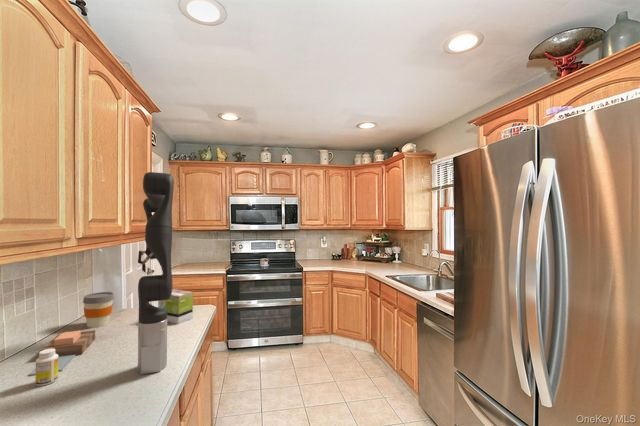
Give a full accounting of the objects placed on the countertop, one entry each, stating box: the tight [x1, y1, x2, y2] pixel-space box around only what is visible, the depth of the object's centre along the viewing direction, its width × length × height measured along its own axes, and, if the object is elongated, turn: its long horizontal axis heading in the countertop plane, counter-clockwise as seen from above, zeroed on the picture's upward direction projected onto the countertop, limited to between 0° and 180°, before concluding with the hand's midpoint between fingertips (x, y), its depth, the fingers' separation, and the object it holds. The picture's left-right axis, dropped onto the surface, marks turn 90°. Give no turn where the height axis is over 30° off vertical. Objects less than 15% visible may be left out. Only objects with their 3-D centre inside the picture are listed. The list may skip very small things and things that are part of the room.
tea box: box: [157, 288, 194, 325], centre depth 160 cm, size 15×10×15 cm, turn 67°
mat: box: [28, 354, 77, 377], centre depth 110 cm, size 13×9×1 cm
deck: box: [39, 329, 96, 356], centre depth 123 cm, size 16×13×4 cm
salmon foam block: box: [54, 330, 82, 346], centre depth 122 cm, size 8×6×2 cm
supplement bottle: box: [34, 349, 59, 387], centre depth 99 cm, size 6×6×10 cm
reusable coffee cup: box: [82, 291, 115, 329], centre depth 152 cm, size 13×13×15 cm
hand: (154, 271), depth 148 cm, fingers open, 8 cm apart
